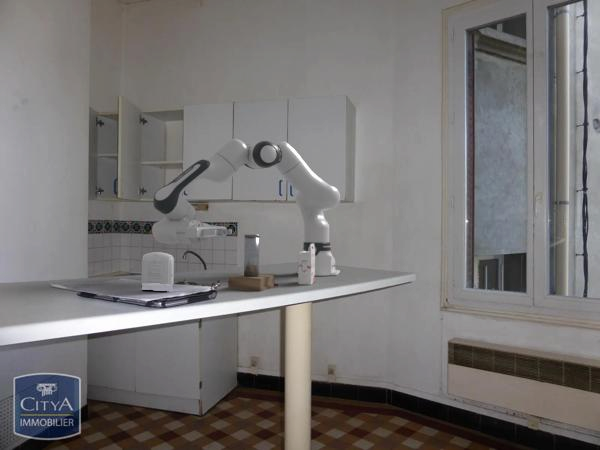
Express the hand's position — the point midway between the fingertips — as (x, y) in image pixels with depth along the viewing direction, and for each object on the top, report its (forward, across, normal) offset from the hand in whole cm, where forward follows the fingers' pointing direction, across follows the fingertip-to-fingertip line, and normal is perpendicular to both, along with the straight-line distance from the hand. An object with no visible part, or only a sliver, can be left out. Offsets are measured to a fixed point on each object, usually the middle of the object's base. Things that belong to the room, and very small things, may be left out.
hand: (223, 232), depth 152 cm
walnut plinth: (+12, -3, +19) cm, 23 cm away
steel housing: (+12, -3, +15) cm, 19 cm away
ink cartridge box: (+24, +18, +20) cm, 36 cm away
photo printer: (-11, -22, +18) cm, 31 cm away
